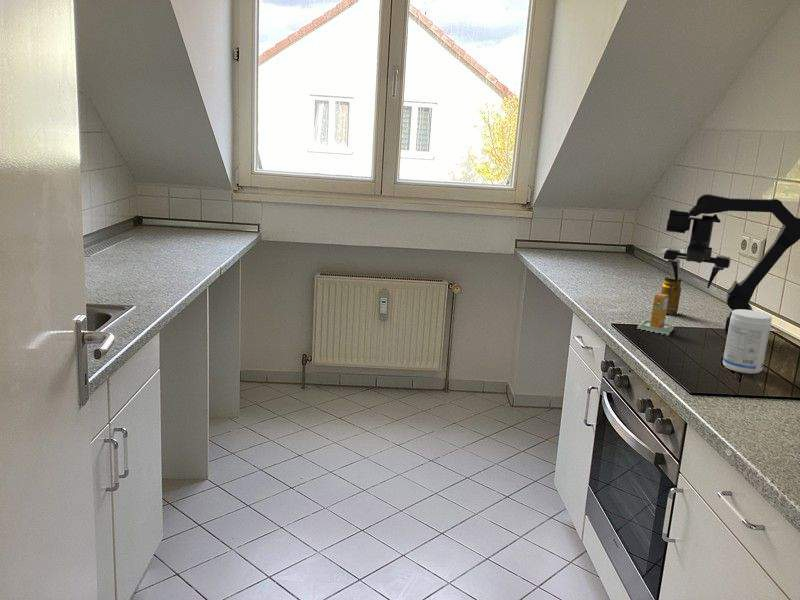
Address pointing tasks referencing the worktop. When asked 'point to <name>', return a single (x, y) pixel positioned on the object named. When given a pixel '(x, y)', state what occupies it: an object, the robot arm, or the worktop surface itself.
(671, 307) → the condiment
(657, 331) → the plate
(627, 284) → the worktop surface
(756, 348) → the supplement tub
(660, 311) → the supplement box
